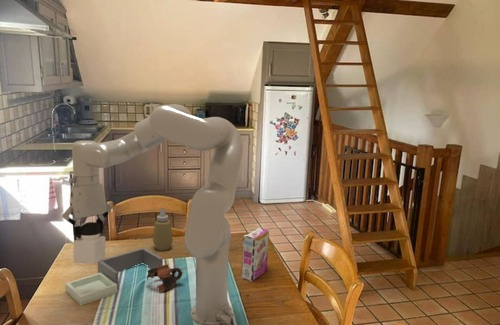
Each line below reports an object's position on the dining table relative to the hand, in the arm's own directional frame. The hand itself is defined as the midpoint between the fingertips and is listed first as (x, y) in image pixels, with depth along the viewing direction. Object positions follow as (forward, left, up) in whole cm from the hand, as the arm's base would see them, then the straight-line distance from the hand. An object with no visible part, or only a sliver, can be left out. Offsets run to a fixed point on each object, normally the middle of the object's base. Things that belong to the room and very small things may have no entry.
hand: (88, 234), depth 127 cm
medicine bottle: (-2, +1, -8) cm, 9 cm away
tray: (0, 0, -20) cm, 20 cm away
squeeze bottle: (+16, -38, -20) cm, 46 cm away
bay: (+2, -16, -20) cm, 25 cm away
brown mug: (-14, -21, -21) cm, 33 cm away
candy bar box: (-27, -50, -20) cm, 60 cm away
